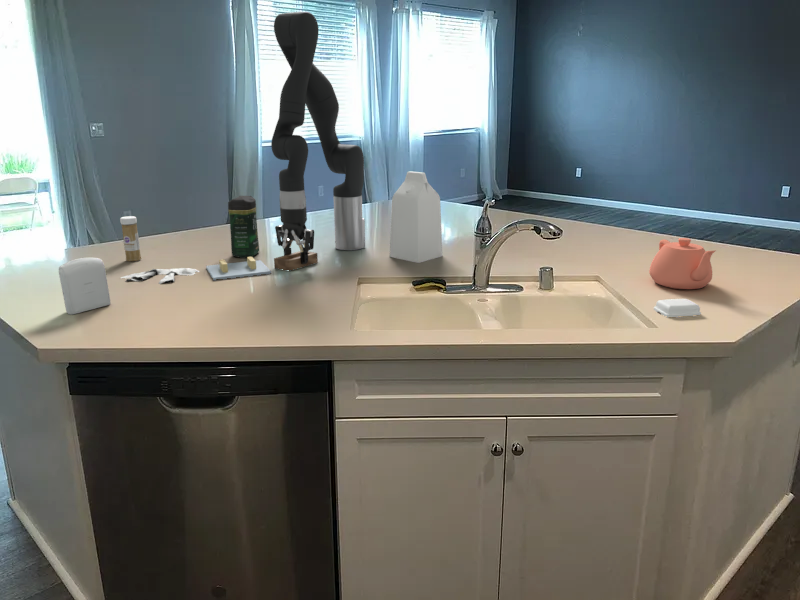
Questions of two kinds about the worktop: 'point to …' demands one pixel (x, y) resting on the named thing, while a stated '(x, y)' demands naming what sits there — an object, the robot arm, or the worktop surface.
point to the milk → (416, 220)
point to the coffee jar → (243, 226)
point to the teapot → (681, 265)
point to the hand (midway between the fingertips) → (296, 261)
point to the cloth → (167, 278)
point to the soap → (677, 307)
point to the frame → (294, 261)
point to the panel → (237, 269)
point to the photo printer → (84, 284)
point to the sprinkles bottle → (130, 238)
